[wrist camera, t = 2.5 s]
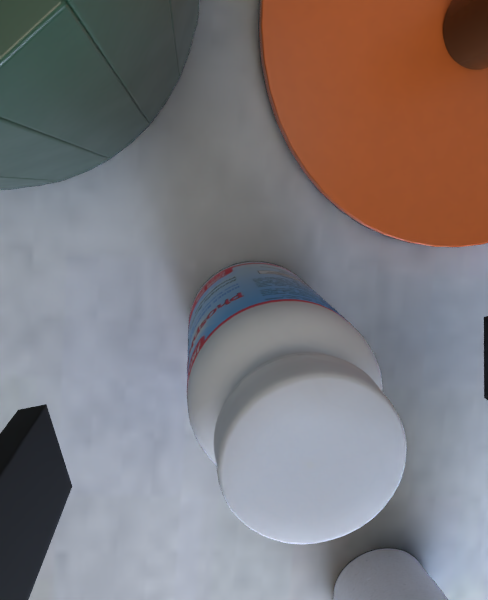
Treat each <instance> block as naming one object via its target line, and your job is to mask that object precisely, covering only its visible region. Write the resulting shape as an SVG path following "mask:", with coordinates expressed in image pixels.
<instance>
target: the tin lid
mask: <svg viewBox="0 0 488 600" xmlns="http://www.w3.org/2000/svg"><path fill="white" fill-rule="evenodd" d="M259 37H260V50H261V63H262V68H263V73H264V78H265V83H266V89H267V94H268V97H269V100H270V103H271V106H272V109H273V112H274V115H275V118H276V122H277V124H278V126H279V128H280V130H281V132H282V135H283V137H284V139H285V141H286V143H287V145H288V148H289V149H290V151H291V153H292V154H293V156H294V157H295V159H296V160H297V162H298V164H299V165H300V167H301V168H302V170H303V172H304V173H305V174H306V175H307V176H308V178H309V179H310V180H311V181H312V182H313V184H314V185H315V186H316V187H317V188H318V190H319V191H320V192H321V193H322V194H323V195H324V196H325V197H326V198H328V199H329V200H330V201H331V202H332V203H333V204H334V205H335V206H336V207H337V208H339V209H340V210H341V211H343V212H344V213H345V214H347V215H348V216H350V217H351V218H353V219H354V220H356V221H357V222H359V223H360V224H362V225H364V226H366V227H368V228H370V229H372V230H374V231H376V232H378V233H381V234H383V235H386V236H389V237H392V238H395V239H398V240H402V241H405V242H409V243H415V244H421V245H427V246H432V247H463V246H472V245H480V244H485V243H488V0H260V17H259Z"/></svg>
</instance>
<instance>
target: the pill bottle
mask: <svg viewBox="0 0 488 600" xmlns="http://www.w3.org/2000/svg"><path fill="white" fill-rule="evenodd" d="M187 402H188V413H189V419H190V423H191V426H192V429H193V432H194V434H195V437H196V439H197V441H198V442H199V444H200V446H201V448H202V449H203V451H204V452H205V453H206V455H207V456H208V457H209V458H210V459H211V460H212V461H213V463H214V464H216V465H217V473H218V480H219V484H220V487H221V490H222V493H223V496H224V498H225V500H226V503H227V504H228V506H229V507H230V509H231V511H232V512H233V513H234V514H235V515H236V517H237V518H238V519H239V520H240V521H241V522H242V523H243V524H245V525H246V526H247V527H248V528H250V529H251V530H253V531H255V532H257V533H258V534H260V535H262V536H264V537H267V538H270V539H273V540H276V541H279V542H284V543H291V544H313V543H320V542H325V541H329V540H333V539H336V538H339V537H342V536H344V535H346V534H349V533H351V532H353V531H355V530H357V529H358V528H360V527H362V526H363V525H364V524H366V523H367V522H369V521H370V520H371V519H372V518H374V517H375V516H376V515H377V514H378V513H379V512H380V511H381V510H382V509H383V508H384V507H385V506H386V504H387V503H388V502H389V500H390V499H391V497H392V496H393V494H394V493H395V491H396V489H397V487H398V485H399V483H400V481H401V479H402V476H403V472H404V468H405V463H406V454H407V443H406V436H405V431H404V427H403V424H402V422H401V419H400V417H399V415H398V413H397V411H396V410H395V408H394V406H393V405H392V403H391V402H390V401H389V399H388V398H387V397H386V396H385V395H384V393H383V384H382V377H381V372H380V368H379V365H378V362H377V360H376V357H375V355H374V353H373V351H372V350H371V348H370V346H369V345H368V343H367V342H366V340H365V339H364V338H363V337H362V335H361V334H360V333H359V332H358V331H357V330H356V329H355V328H354V327H353V326H352V325H351V324H350V323H349V322H348V321H347V320H346V319H345V318H344V317H343V316H342V315H340V314H339V313H338V312H337V311H336V310H335V309H334V308H333V307H331V306H330V305H329V304H328V303H327V302H326V301H325V300H323V299H322V298H321V297H320V296H319V295H318V294H317V293H316V292H315V291H314V290H312V289H311V288H310V287H309V286H308V285H307V284H306V283H305V282H303V281H302V280H301V279H300V278H299V277H298V276H296V275H295V274H294V273H292V272H291V271H289V270H287V269H285V268H283V267H281V266H278V265H275V264H271V263H265V262H245V263H239V264H235V265H232V266H229V267H227V268H224V269H223V270H221V271H219V272H217V273H216V274H215V275H213V276H212V277H211V278H210V279H209V280H208V281H207V282H206V283H205V284H204V285H203V286H202V288H201V289H200V290H199V292H198V294H197V295H196V297H195V300H194V302H193V305H192V308H191V312H190V317H189V331H188V365H187Z"/></svg>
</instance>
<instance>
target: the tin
mask: <svg viewBox="0 0 488 600" xmlns="http://www.w3.org/2000/svg"><path fill="white" fill-rule="evenodd" d="M198 13H199V0H0V190H11V189H17V188H23V187H31V186H40V185H45V184H49V183H55V182H60V181H62V180H66V179H68V178H71V177H74V176H76V175H79V174H81V173H84V172H87V171H89V170H91V169H93V168H95V167H96V166H98V165H100V164H102V163H104V162H105V161H107V160H109V159H111V158H112V157H114V156H115V155H116V154H117V153H119V152H120V151H121V150H123V149H124V148H125V147H127V146H128V145H129V144H131V143H132V142H133V141H134V140H135V139H136V138H137V137H138V136H139V135H140V134H141V133H142V132H143V131H144V130H145V129H146V128H147V127H148V126H149V125H150V123H151V122H152V121H153V119H154V118H155V117H156V115H157V114H158V113H159V111H160V110H161V109H162V107H163V106H164V105H165V103H166V102H167V100H168V98H169V96H170V94H171V93H172V91H173V89H174V87H175V85H176V84H177V82H178V80H179V77H180V75H181V72H182V70H183V67H184V65H185V62H186V60H187V57H188V55H189V51H190V47H191V43H192V39H193V35H194V32H195V29H196V26H197V20H198Z"/></svg>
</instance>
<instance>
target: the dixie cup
mask: <svg viewBox="0 0 488 600" xmlns="http://www.w3.org/2000/svg"><path fill="white" fill-rule="evenodd" d="M334 600H448V599H447V597H446V596H445V594H444V593H443V592H442V590H441V589H440V588H439V587H438V585H437V584H436V583H435V581H434V580H433V579H432V578H431V577H430V576H429V575H428V573H427V572H426V571H425V569H424V568H423V567H422V566H421V564H420V563H419V562H418V561H417V559H416V558H414V557H413V556H412V555H410V554H409V553H407V552H405V551H402V550H398V549H389V548H387V549H378V550H373V551H370V552H367V553H365V554H363V555H361V556H359V557H357V558H356V559H354V560H353V561H352V562H350V563H349V564H348V565H347V566H346V567H345V568H344V570H343V571H342V572H341V574H340V575H339V577H338V579H337V581H336V584H335V588H334Z"/></svg>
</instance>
